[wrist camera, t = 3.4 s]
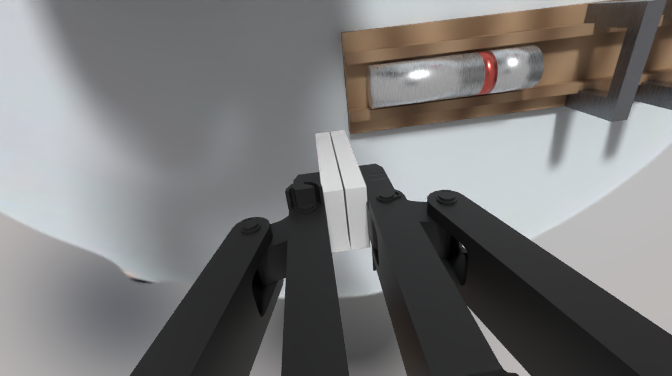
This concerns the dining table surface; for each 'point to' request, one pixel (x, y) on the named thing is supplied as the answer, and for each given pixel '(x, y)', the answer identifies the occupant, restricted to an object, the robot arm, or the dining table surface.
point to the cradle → (492, 34)
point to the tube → (453, 76)
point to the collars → (626, 60)
